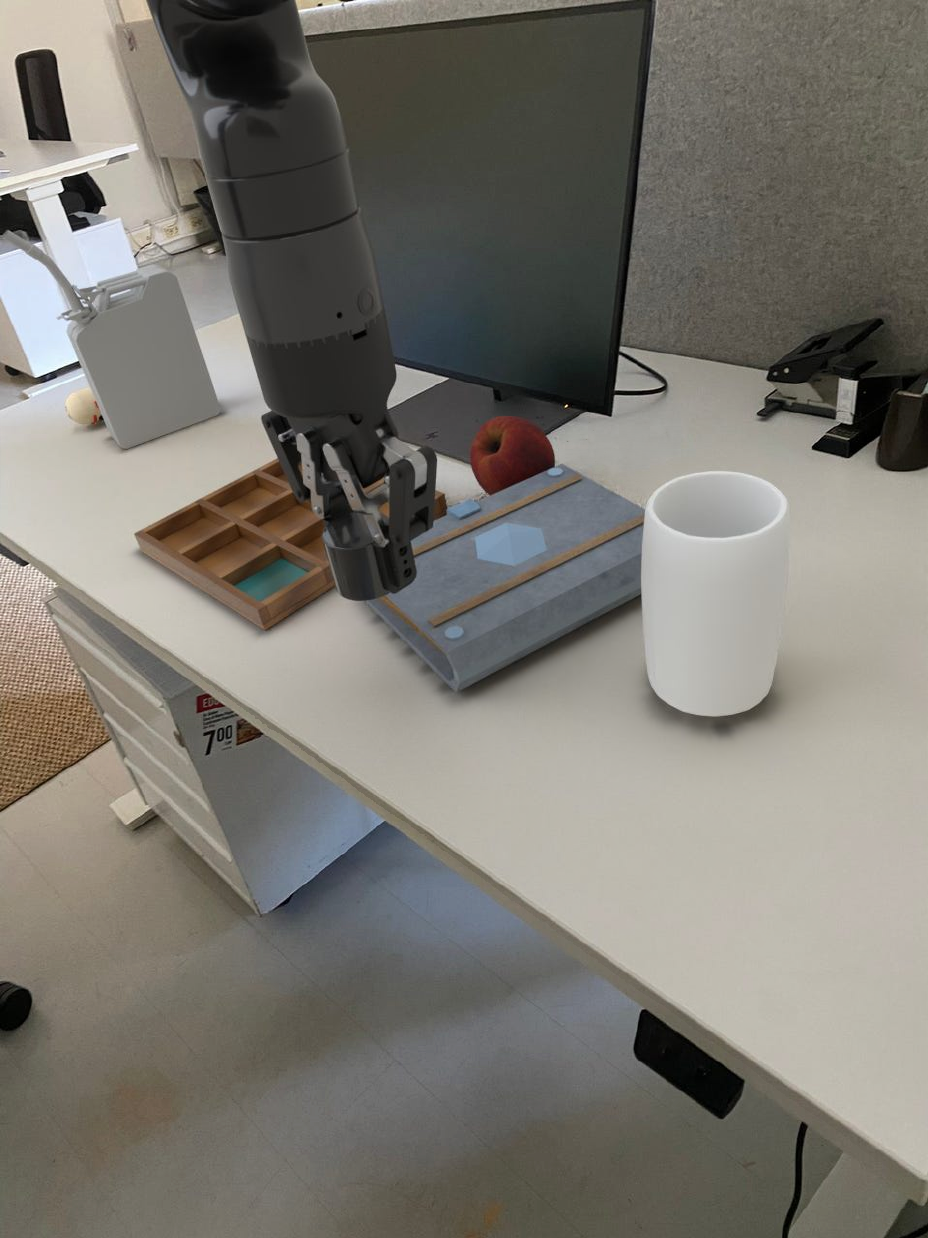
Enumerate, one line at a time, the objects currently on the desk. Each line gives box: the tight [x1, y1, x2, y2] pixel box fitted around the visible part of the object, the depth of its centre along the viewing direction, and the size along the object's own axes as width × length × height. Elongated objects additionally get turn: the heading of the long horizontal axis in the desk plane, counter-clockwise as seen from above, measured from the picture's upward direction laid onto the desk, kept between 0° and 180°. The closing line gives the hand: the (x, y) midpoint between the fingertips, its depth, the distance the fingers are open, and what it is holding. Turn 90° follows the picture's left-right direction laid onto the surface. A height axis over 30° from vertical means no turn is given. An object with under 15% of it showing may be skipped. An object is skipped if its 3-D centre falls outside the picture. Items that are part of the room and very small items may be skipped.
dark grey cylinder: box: [322, 512, 390, 602], centre depth 55 cm, size 4×4×4 cm
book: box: [364, 463, 646, 693], centre depth 68 cm, size 21×16×5 cm
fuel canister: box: [1, 229, 222, 450], centre depth 98 cm, size 15×5×25 cm, turn 123°
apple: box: [469, 415, 556, 496], centre depth 79 cm, size 7×8×8 cm
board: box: [133, 457, 448, 631], centre depth 81 cm, size 21×21×2 cm
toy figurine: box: [64, 386, 104, 425], centre depth 110 cm, size 8×4×12 cm
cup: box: [640, 470, 790, 717], centre depth 54 cm, size 8×8×14 cm
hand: (375, 572), depth 56 cm, fingers closed on dark grey cylinder, 4 cm apart
